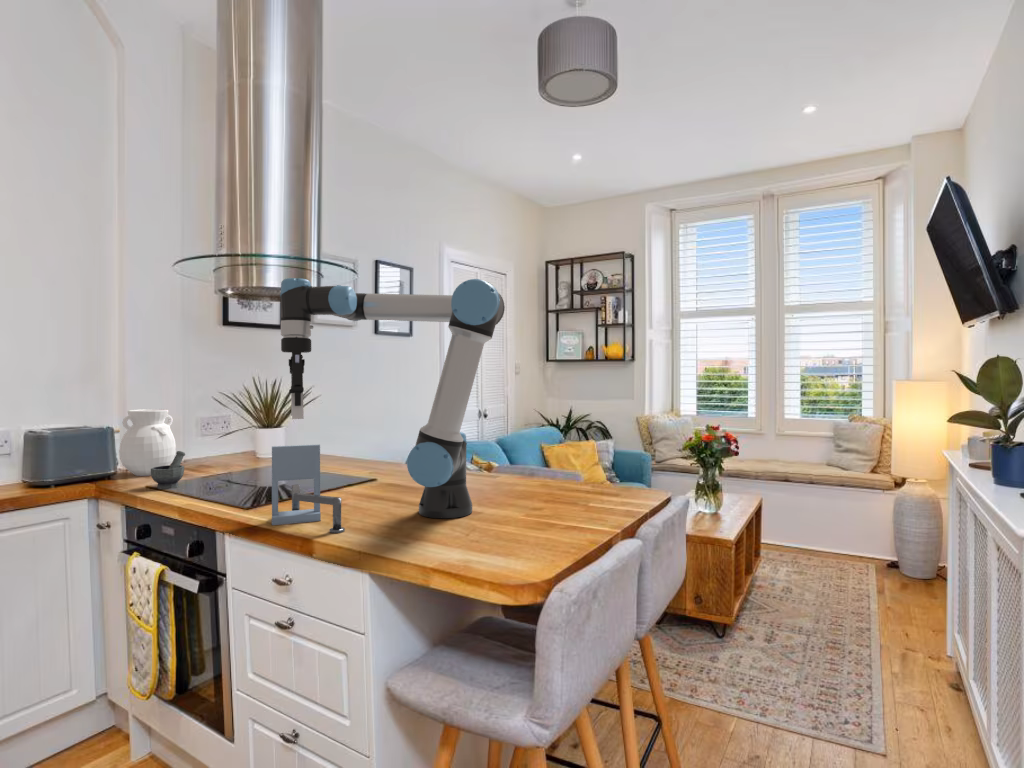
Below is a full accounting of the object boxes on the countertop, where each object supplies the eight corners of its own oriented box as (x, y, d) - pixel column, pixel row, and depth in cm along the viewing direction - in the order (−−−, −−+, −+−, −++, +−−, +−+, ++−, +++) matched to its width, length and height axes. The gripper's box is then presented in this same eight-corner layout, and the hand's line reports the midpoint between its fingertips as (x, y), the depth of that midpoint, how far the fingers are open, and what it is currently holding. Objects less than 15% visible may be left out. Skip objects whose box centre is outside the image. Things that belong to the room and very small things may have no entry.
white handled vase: (163, 468, 232) (163, 407, 232) (184, 473, 222) (184, 409, 221) (111, 474, 217) (110, 410, 217) (131, 480, 207) (131, 412, 206)
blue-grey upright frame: (320, 520, 150) (320, 446, 150) (271, 525, 146) (271, 448, 146) (319, 515, 156) (319, 443, 156) (272, 519, 151) (272, 445, 151)
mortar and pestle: (164, 491, 188) (163, 455, 187) (144, 488, 191) (144, 453, 191) (194, 484, 198) (193, 450, 198) (175, 483, 201) (174, 449, 201)
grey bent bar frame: (347, 531, 140) (347, 497, 140) (318, 537, 135) (318, 502, 135) (299, 512, 159) (299, 482, 159) (272, 517, 154) (272, 486, 154)
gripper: (313, 334, 140) (314, 419, 140) (309, 340, 163) (310, 413, 163) (280, 333, 137) (281, 420, 137) (281, 340, 160) (282, 414, 161)
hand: (297, 417), depth 150 cm, fingers open, 13 cm apart
